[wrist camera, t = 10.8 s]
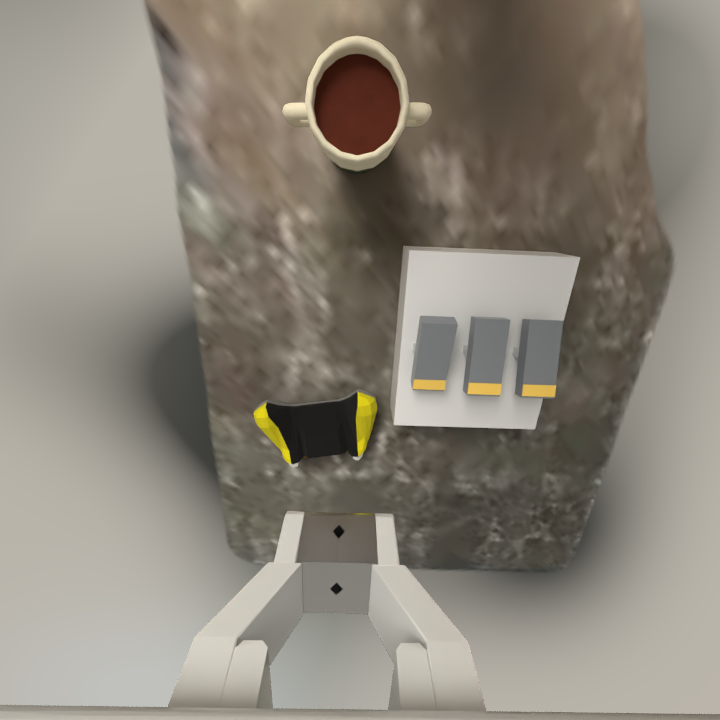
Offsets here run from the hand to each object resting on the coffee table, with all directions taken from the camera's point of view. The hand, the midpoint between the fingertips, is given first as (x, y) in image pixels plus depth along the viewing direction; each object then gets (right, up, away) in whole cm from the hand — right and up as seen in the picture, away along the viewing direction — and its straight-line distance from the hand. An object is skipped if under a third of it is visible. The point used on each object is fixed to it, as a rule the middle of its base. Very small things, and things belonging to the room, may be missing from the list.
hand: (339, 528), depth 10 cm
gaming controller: (-4, -2, +38) cm, 39 cm away
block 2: (+19, +5, +27) cm, 34 cm away
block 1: (+8, +5, +27) cm, 29 cm away
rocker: (+14, +5, +27) cm, 31 cm away
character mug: (0, +27, +26) cm, 37 cm away
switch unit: (+13, +8, +34) cm, 37 cm away
